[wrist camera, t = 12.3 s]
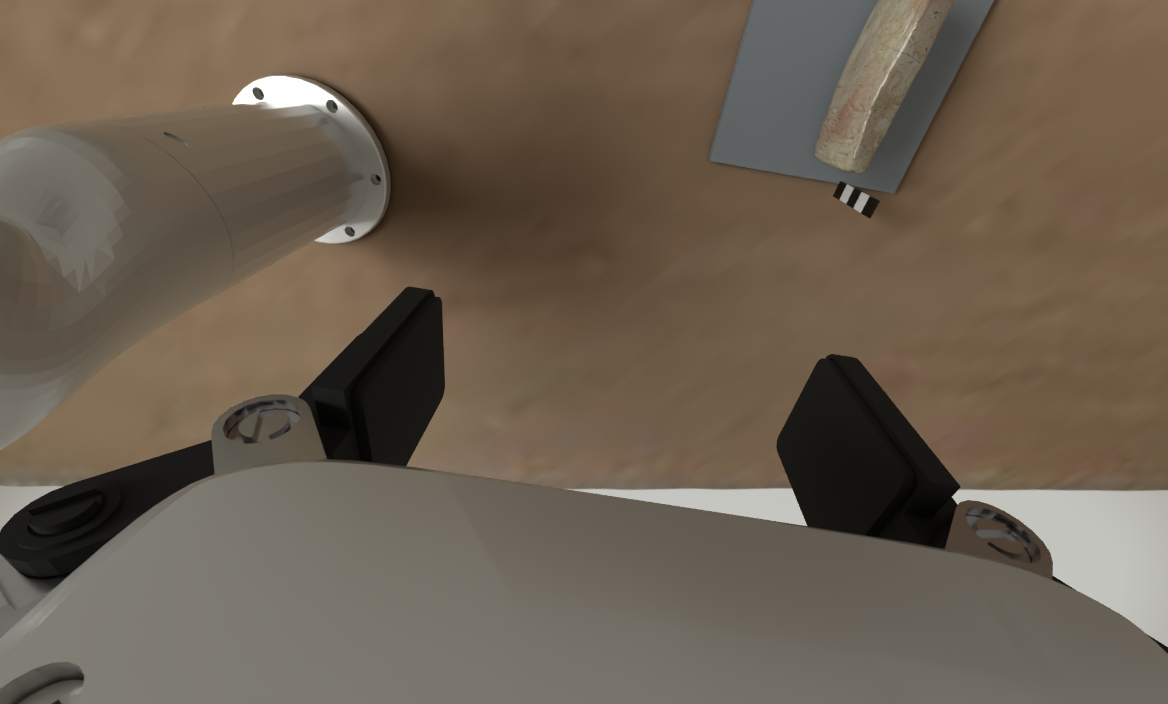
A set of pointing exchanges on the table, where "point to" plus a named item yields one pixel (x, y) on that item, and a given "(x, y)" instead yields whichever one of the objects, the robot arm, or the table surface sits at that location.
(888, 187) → the mat
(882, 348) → the table surface
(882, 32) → the cuneiform tablet
